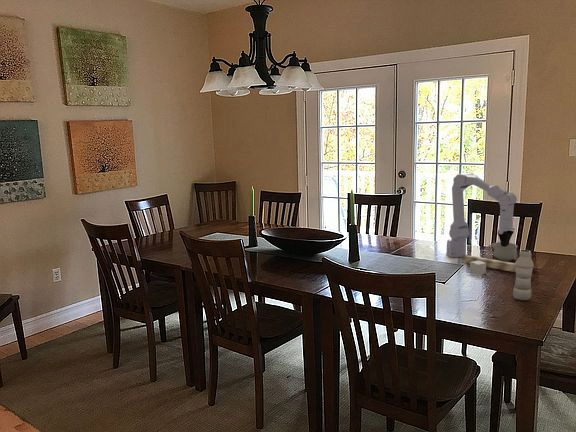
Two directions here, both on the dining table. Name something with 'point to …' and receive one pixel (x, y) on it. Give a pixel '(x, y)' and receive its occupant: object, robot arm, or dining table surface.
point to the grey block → (477, 267)
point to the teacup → (504, 251)
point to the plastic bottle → (523, 276)
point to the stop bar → (490, 263)
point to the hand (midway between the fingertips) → (504, 245)
